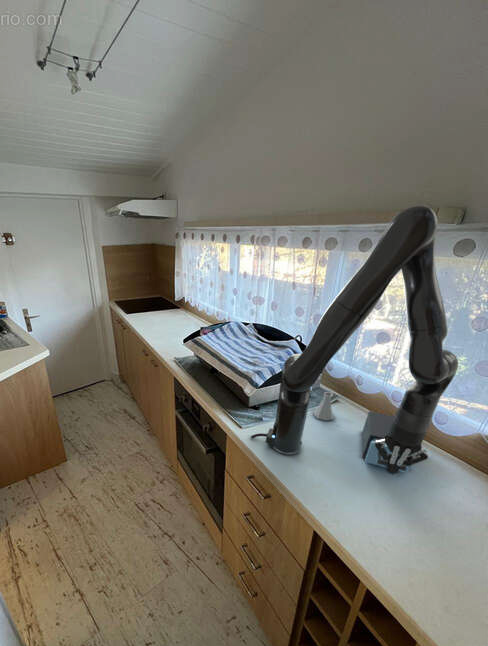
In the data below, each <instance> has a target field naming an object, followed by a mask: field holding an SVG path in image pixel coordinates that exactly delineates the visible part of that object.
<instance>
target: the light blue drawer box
mask: <svg viewBox="0 0 488 646" xmlns="http://www.w3.org/2000/svg"><path fill="white" fill-rule="evenodd" d="M375 439H378V438H374V437H372V439H371V442H370V445H369V448H368V451H367V452H368V453H367V455H366V458H364V462H365V463H368V464H371V465H376V466H379V467H382V468H386V465H387V463H388V461H387V460H383V458H382V456H381V455H380V453H379V451H378V450H377V448H376V446H375ZM379 440H381V439H379ZM384 448H385V450H386V452H387V453H388V454H389V455H390V450H389V449H388V447H387V445H386V444H385V447H384ZM414 454H415V453H414ZM397 456H398V455H397ZM409 456H410V455H409ZM407 457H408V456H407ZM410 468H411V466H406V465H401V466H400V469H399V471H398V472H401V473H405V474H408V472H409V470H410Z"/></svg>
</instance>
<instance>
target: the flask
mask: <svg viewBox="0 0 488 646" xmlns="http://www.w3.org/2000/svg"><path fill="white" fill-rule="evenodd" d="M333 396H334V394H333V393H332V392H329V391H325V392H323V398H322V401H321V402H320V403H319V404H318V406H317V407H316V408H315V410H314V413H313V415H314V416H315V417H316V418H317V419H319V420H323V421H332V420H333V419H334V414H333V408H332V398H333Z"/></svg>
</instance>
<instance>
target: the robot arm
mask: <svg viewBox="0 0 488 646" xmlns="http://www.w3.org/2000/svg"><path fill="white" fill-rule="evenodd" d="M437 217H438V216H437V214H436V213H435V211H434V210H433V209H432V208H431V207H429V206H427V205H423V204H418V205H417V204H416V205H412V206H409V207H407V208H405V209H402V210H401V211H400V212H398V213H397V214H396V215H394V217H392V219H391V220H390V222H389V223H388V225H387V226H386V228H385V230H384V231H383V233H382V234H381V236H380V238H379V240H378V241H377V243H376V244H375V246H374V248H373V249H372V251H371V252H370V254H369V255H368V257H367V258H366V260H365V261H364V263H363V264H362V265H361V266H360V268H359V269H358V270H357V271H356V272H355V273H354V275H353V276H352V277H351V278H350V279H349V281H348V282H347V283H346V284H345V285H344V286H343V287H342V289H341V290H340V291H339V293H337V295H336V297H335V298H334V299H333V300H332V302H331V303H330V305H329V306H328V307H327V309H326V310H325V312H324V313H323V315H322V317H321V318H320V320H319V322H318V324H317V326H316V328H315V331H314V332H313V335H312V337H311V339H310V341H309V343H308V344H307V345H306V347H305V348H304V350H303V351H302V352H301V353H295V354H292V355H290V356H289V357H287V358H286V359H285V361H284V362H283V365H282V371H281V375H280V377H281V378H280V383H279V390H278V392H279V393H278V401H277V407H276V413H275V420H274V421H275V422H274V423H273V427H272V428H269V429H268V432H267V433H255V434H252V435H251V437H250V438H252V439H255V438H257V437H265V443H266V444H269V445H270V448H271V449H274V450H275V451H276V452H277V453H279V454H281V455H286V456H287V455H288V456H293V455H296V454H298V453H299V452H300V451H301V446H302V444H303V441H302V439H303V435H304V431H305V425H306V419H307V415H308V412H309V411H308V410H309V405H310V399H311V388H312V387H313V386H314V385H315V383H316V382H317V380H318V379H319V378H320V376H321V374H322V373H323V371H324V370H325V368H326V367H327V365H328V364H329V362H330V361H331V360H332V359H333V358H334V357H335V355H336V354H337V353H338V352H339V351H340V350H341V348H342V347H343V346H344V345H345V344H346V343H347V342H348V341H349V339H350V338H351V337H352V336H353V334H355V332H356V331H357V330H358V329H359V328H360V327H361V326H362V324H363V323H364V322H365V321H366V319H368V317H369V316H370V314H371V313H372V312H373V310H374V309H375V307H376V306H377V305H378V303H379V301H380V299H381V298H382V296H383V295H384V293H385V291H386V289H387V288H388V286H389V285H390V283H391V282H392V280H393V279H394V278H395V276H396V275H397V274H398V273H399V272H400V271H401V275H402V282H403V289H404V307H405V315H406V321H407V328H408V332H409V337H410V338H409V339H410V340H409V341H410V342H409V349H408V368H409V372H410V374H411V376H412V378H413V379H414V382H413V383H412V384H411V385H409V386H408V388H407V389H406V390H405V392H404V395H403V398H402V400H401V403H400V404H399V407H398V408H397V410H396V412H395V415H394V416H395V418H394V420H393V423H392V426H391V428H390V431H389V433H388V435H387V436H385V438H384V439H381V440H379V439H375V446H376V448H377V450H378V451H379V453H380V455H381V456H382V458H383V460H387V461H388V463H387V465H386V467H385V468H386V472H387V474H389V475H395V474H398V473H399V472H400V471H399V469H400V466H401V465H406V466H410V467H411V466H413V465H416V464H418V463H421V462H423V461H426V460H428V459H429V456H428V452H427V450H426V449H423V447H422V444H423V441H424V439H425V436H426V434H427V432H428V431H429V428H430V427H431V423H432V421H433V420H432V419H433V416H434V414H435V411H436V409H437V407H438V404H439V402H440V399H441V397H442V396H443V394H444V392H445V391H446V390H447V388H448V387H449V386H450V384H451V383H452V381H453V379H454V377H455V376H456V373H457V372H458V368H459V359H458V357H457V355H456V354H454V352H452V351H450V350H448V349H443V344H444V343H443V342H444V340H445V339H446V338H447V337H448V331H449V330H448V322H447V315H446V309H445V305H444V301H443V296H442V292H441V288H440V284H439V280H438V277H437V270H436V263H435V261H436V259H435V244H436V235H437V233H438V226H439V221H438V218H437ZM385 443H386V445H387V447H388V449H389V450H390V455H389V454H388V453H387V452H386V450H385V448H384V447H385ZM414 453H415V454H414ZM397 455H398V456H397ZM409 455H410V456H409ZM407 456H408V457H407Z"/></svg>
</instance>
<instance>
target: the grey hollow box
mask: <svg viewBox="0 0 488 646" xmlns="http://www.w3.org/2000/svg"><path fill="white" fill-rule="evenodd" d="M394 418H395V415H390V414H386V413H380V412H376V411H371V410H369V411H368V413H367V416H366V419H365V421H364V425H363V428H362V431H361V458H362V459H365V458H366V455H367V453H368V452H367V451H368V448H369V445H370V442H371V439H372V437H374V438H378V439H384V438H385V436H387V435H388V433H389V431H390V428H391V426H392V423H393V420H394Z"/></svg>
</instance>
